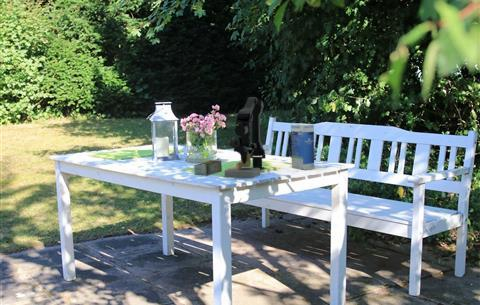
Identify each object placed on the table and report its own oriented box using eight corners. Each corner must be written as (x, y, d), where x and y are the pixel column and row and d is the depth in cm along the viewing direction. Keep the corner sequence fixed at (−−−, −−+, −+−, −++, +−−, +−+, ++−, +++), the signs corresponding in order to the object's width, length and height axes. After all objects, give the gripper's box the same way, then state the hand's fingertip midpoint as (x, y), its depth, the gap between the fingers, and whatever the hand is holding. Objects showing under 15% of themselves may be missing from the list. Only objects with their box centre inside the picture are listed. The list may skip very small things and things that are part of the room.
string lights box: (314, 169, 329) (314, 124, 325) (304, 170, 325) (303, 124, 322) (301, 166, 340) (300, 123, 337) (290, 167, 336) (290, 123, 333)
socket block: (233, 173, 319) (233, 166, 318) (260, 174, 313) (260, 167, 312) (224, 176, 308) (224, 169, 307) (252, 178, 302) (252, 171, 301)
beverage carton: (193, 175, 315) (193, 163, 315) (210, 170, 333) (210, 159, 332) (206, 176, 312) (206, 164, 311) (222, 171, 329) (222, 160, 328)
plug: (243, 165, 311) (243, 153, 311) (250, 166, 310) (250, 153, 309) (241, 166, 308) (240, 154, 307) (247, 167, 306) (247, 154, 305)
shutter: (232, 168, 315) (232, 161, 315) (242, 168, 313) (242, 161, 313) (227, 169, 310) (227, 163, 309) (238, 170, 307) (238, 163, 307)
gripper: (237, 132, 318) (238, 160, 320) (224, 135, 301) (225, 165, 303) (256, 132, 314) (257, 161, 316) (244, 136, 297) (244, 165, 299)
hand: (245, 163), depth 309 cm, fingers closed on plug, 4 cm apart
